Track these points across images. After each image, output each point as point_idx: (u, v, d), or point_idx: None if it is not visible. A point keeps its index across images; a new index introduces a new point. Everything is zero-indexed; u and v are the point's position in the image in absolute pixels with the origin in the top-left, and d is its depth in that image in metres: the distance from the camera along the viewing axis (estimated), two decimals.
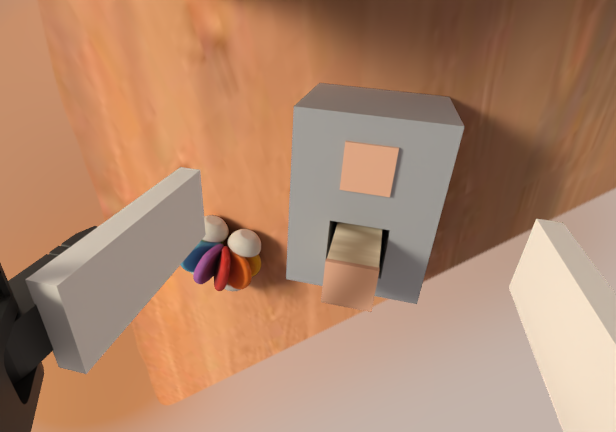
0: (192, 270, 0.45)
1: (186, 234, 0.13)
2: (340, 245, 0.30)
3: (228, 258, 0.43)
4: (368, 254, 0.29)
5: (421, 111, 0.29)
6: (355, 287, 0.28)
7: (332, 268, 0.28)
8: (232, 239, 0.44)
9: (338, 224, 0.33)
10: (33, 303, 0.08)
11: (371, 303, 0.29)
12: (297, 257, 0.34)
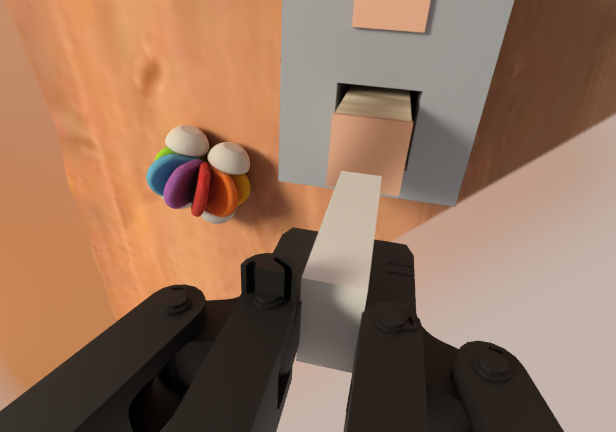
0: (164, 193, 0.36)
1: None
2: (353, 105, 0.21)
3: (207, 173, 0.34)
4: (395, 112, 0.20)
5: None
6: (376, 156, 0.19)
7: (342, 126, 0.19)
8: (213, 152, 0.35)
9: (349, 92, 0.24)
10: (299, 300, 0.09)
11: (399, 181, 0.20)
12: (293, 146, 0.25)
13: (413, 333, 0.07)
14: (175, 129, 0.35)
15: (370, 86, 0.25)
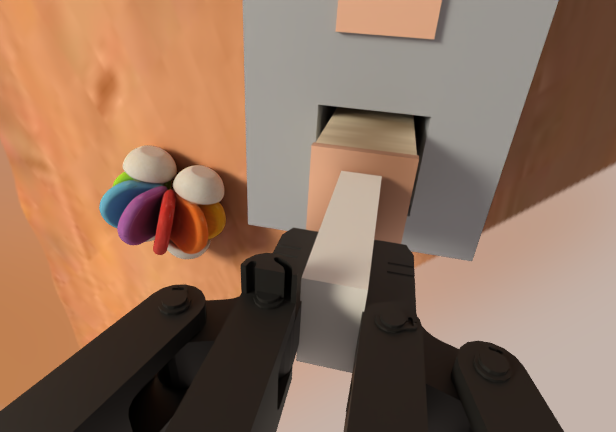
0: None
1: None
2: (341, 130, 0.16)
3: (171, 204, 0.28)
4: (394, 141, 0.15)
5: None
6: None
7: (325, 161, 0.14)
8: (179, 178, 0.29)
9: (337, 111, 0.19)
10: (299, 300, 0.09)
11: (400, 232, 0.15)
12: (264, 183, 0.20)
13: (413, 333, 0.07)
14: (134, 151, 0.30)
15: None
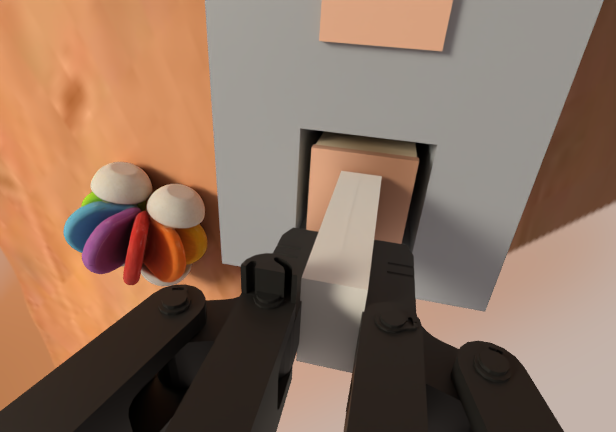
0: None
1: None
2: None
3: (143, 229, 0.25)
4: (394, 143, 0.15)
5: None
6: None
7: (325, 163, 0.14)
8: (153, 199, 0.26)
9: None
10: (299, 300, 0.09)
11: (400, 234, 0.15)
12: (239, 217, 0.17)
13: (413, 333, 0.07)
14: (103, 168, 0.27)
15: None
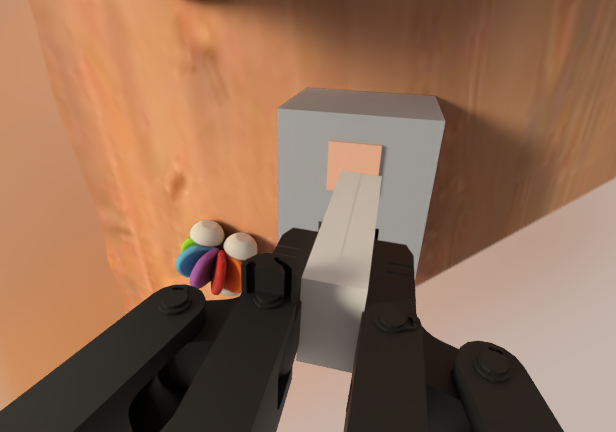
0: (189, 275, 0.45)
1: None
2: None
3: (224, 261, 0.43)
4: None
5: (404, 109, 0.29)
6: None
7: None
8: (228, 242, 0.44)
9: None
10: (299, 300, 0.09)
11: None
12: None
13: (413, 333, 0.07)
14: (198, 225, 0.44)
15: None
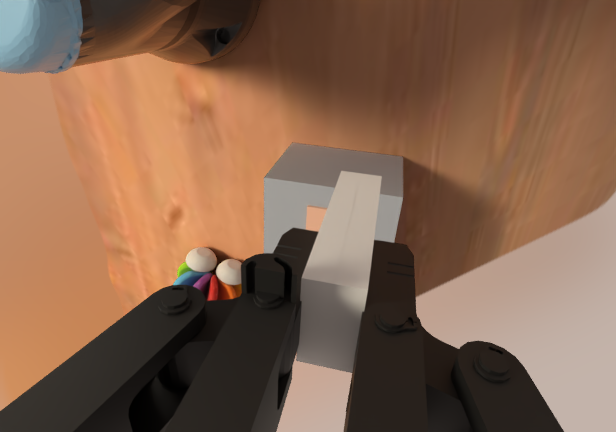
0: None
1: None
2: None
3: (216, 287, 0.48)
4: None
5: None
6: None
7: None
8: (220, 269, 0.49)
9: None
10: (299, 300, 0.09)
11: None
12: None
13: (413, 333, 0.07)
14: (193, 252, 0.50)
15: None
